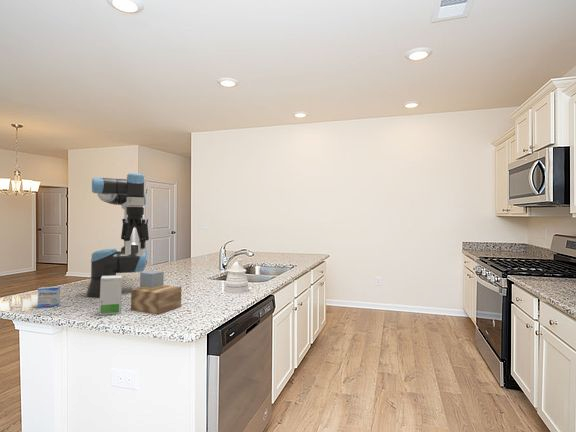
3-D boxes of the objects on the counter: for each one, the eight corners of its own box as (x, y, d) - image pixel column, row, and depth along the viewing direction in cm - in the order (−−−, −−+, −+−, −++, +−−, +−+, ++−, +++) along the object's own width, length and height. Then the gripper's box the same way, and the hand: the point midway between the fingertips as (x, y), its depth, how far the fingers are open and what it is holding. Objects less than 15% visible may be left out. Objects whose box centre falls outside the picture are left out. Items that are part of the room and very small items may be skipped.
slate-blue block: (140, 288, 153) (140, 272, 153) (151, 285, 159) (152, 270, 159) (151, 289, 150) (152, 274, 150) (163, 286, 157) (163, 271, 156)
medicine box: (37, 308, 150) (37, 288, 150) (39, 306, 154) (39, 286, 154) (58, 306, 153) (59, 287, 153) (60, 304, 157) (60, 285, 157)
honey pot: (252, 290, 192) (253, 258, 192) (237, 294, 182) (238, 261, 182) (235, 287, 199) (236, 257, 199) (220, 291, 189) (220, 259, 188)
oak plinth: (130, 309, 150) (131, 289, 150) (154, 302, 163) (154, 283, 163) (158, 314, 144) (159, 293, 144) (181, 306, 157) (181, 287, 157)
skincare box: (98, 315, 141) (99, 278, 141) (100, 311, 147) (101, 275, 147) (121, 313, 144) (121, 277, 144) (122, 309, 150) (122, 274, 150)
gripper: (112, 206, 159) (111, 254, 159) (145, 206, 151) (144, 257, 151) (125, 206, 166) (125, 253, 166) (158, 207, 158) (157, 255, 158)
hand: (134, 255), depth 159 cm, fingers open, 8 cm apart
